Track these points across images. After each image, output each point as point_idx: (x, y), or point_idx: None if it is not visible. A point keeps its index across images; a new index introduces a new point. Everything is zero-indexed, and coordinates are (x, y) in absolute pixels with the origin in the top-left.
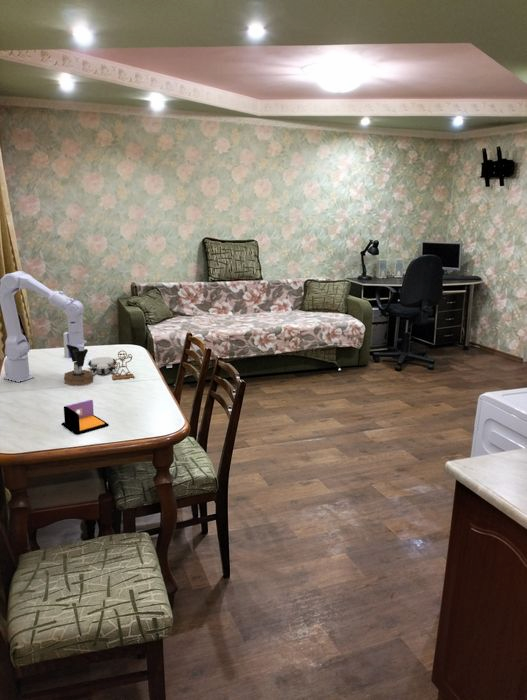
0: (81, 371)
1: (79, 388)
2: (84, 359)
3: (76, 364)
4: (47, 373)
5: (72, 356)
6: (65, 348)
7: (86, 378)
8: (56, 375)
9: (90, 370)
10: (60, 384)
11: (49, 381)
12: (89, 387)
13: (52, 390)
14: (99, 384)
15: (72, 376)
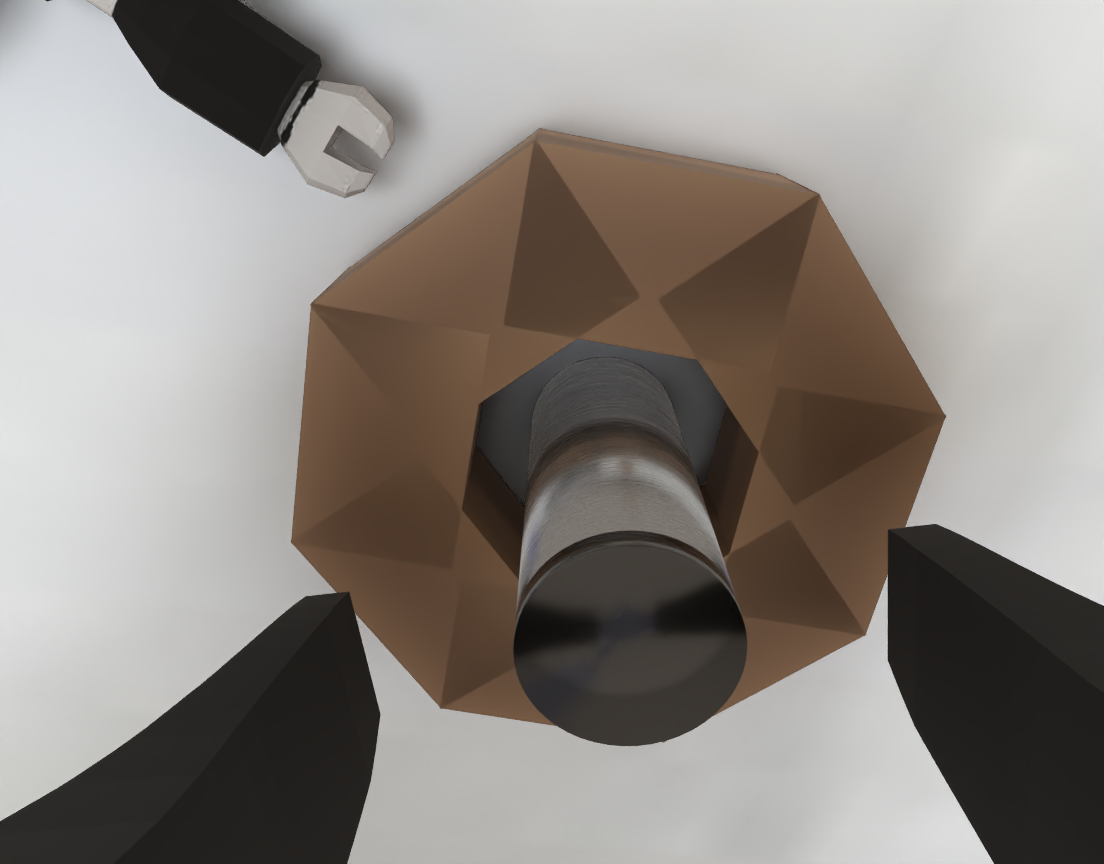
0: (676, 456)
1: (1027, 472)
2: (1101, 607)
3: (726, 678)
4: (5, 811)
5: (333, 843)
6: None
7: (902, 350)
8: (146, 711)
9: (262, 150)
10: None
11: (441, 823)
12: (1077, 298)
13: (894, 827)
14: (1006, 66)
15: None
